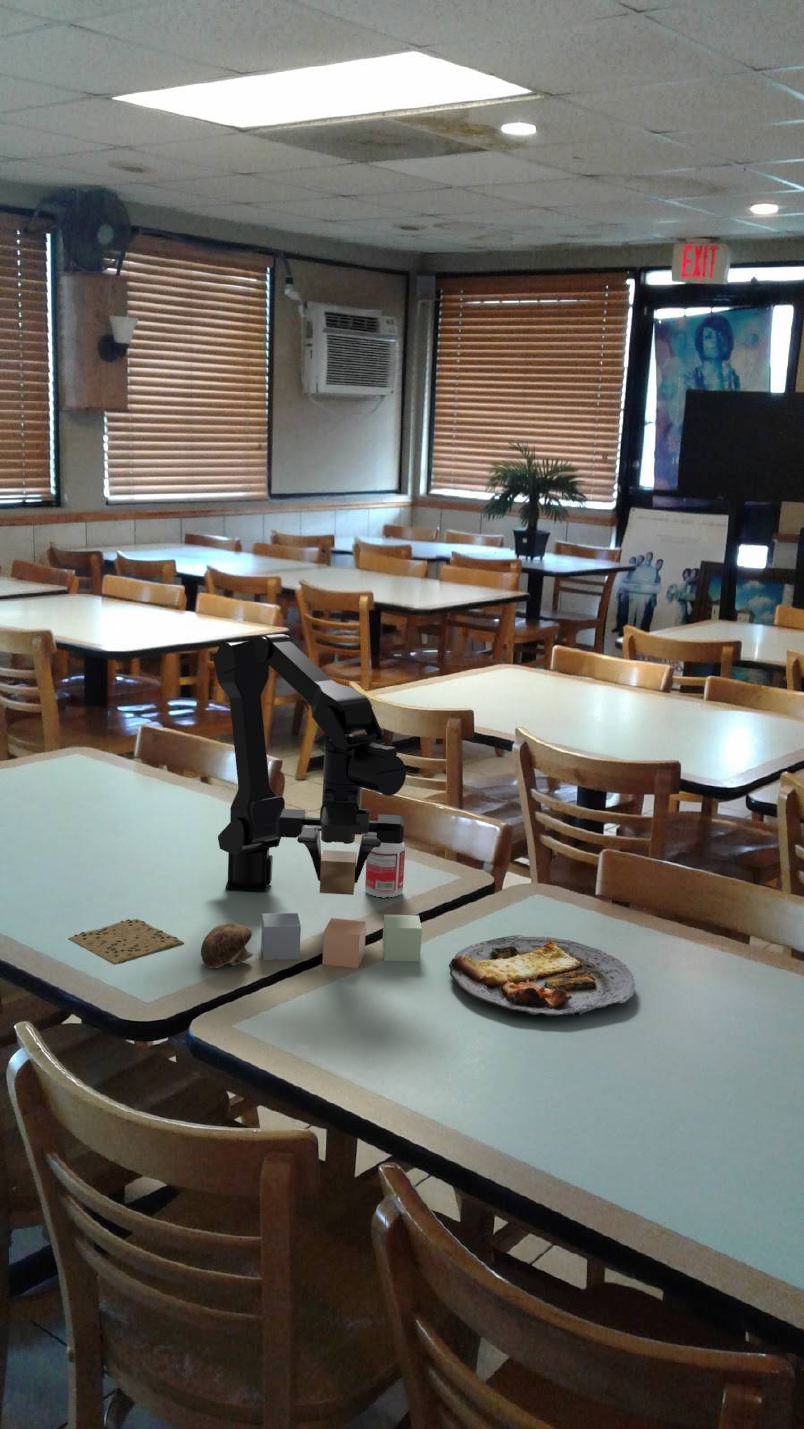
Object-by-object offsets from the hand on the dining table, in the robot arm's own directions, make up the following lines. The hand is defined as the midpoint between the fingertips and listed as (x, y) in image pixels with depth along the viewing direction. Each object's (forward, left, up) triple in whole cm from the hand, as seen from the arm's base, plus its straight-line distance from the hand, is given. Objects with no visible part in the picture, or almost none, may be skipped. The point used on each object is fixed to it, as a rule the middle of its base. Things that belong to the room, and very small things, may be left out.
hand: (337, 881), depth 188 cm
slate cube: (-7, -12, -7) cm, 15 cm away
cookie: (-29, -11, -7) cm, 32 cm away
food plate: (+29, -18, -7) cm, 35 cm away
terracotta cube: (+2, -13, -7) cm, 15 cm away
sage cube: (+10, -10, -7) cm, 16 cm away
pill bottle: (+7, +15, -7) cm, 18 cm away
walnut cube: (0, 0, -1) cm, 1 cm away
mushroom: (-14, -17, -7) cm, 23 cm away
